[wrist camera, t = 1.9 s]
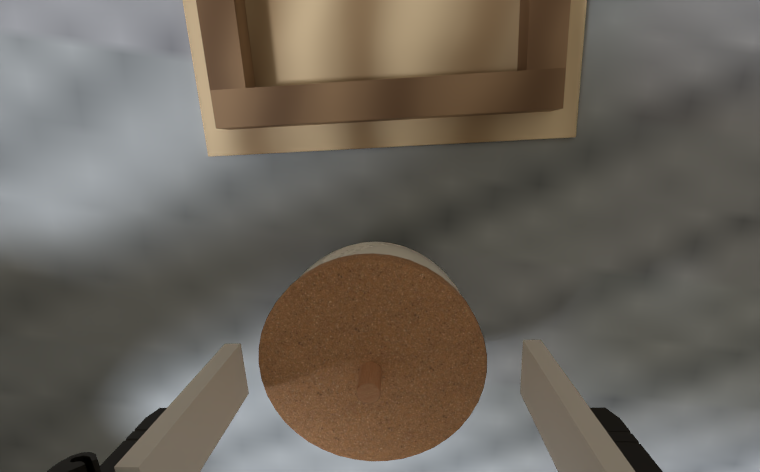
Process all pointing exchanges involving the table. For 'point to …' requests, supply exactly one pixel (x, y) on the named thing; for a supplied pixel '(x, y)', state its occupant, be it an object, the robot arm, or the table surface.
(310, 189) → the table surface
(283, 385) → the lidded jar
